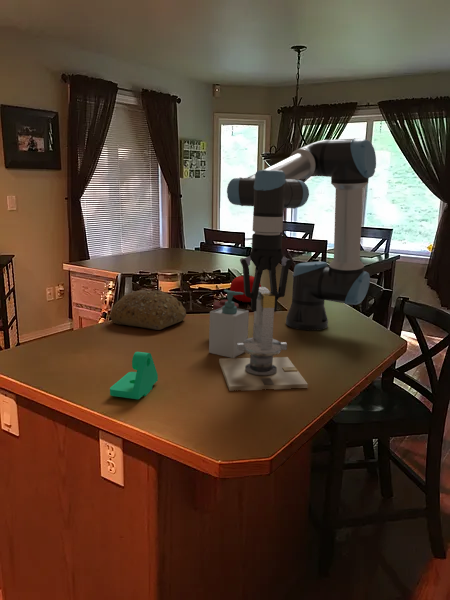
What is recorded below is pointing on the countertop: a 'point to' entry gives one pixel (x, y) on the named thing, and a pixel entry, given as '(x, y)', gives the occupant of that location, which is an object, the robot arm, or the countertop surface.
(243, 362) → the board
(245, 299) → the tomato
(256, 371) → the metal spool
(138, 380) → the camera mount
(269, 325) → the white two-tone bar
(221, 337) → the soap bottle
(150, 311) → the bread
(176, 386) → the countertop surface
